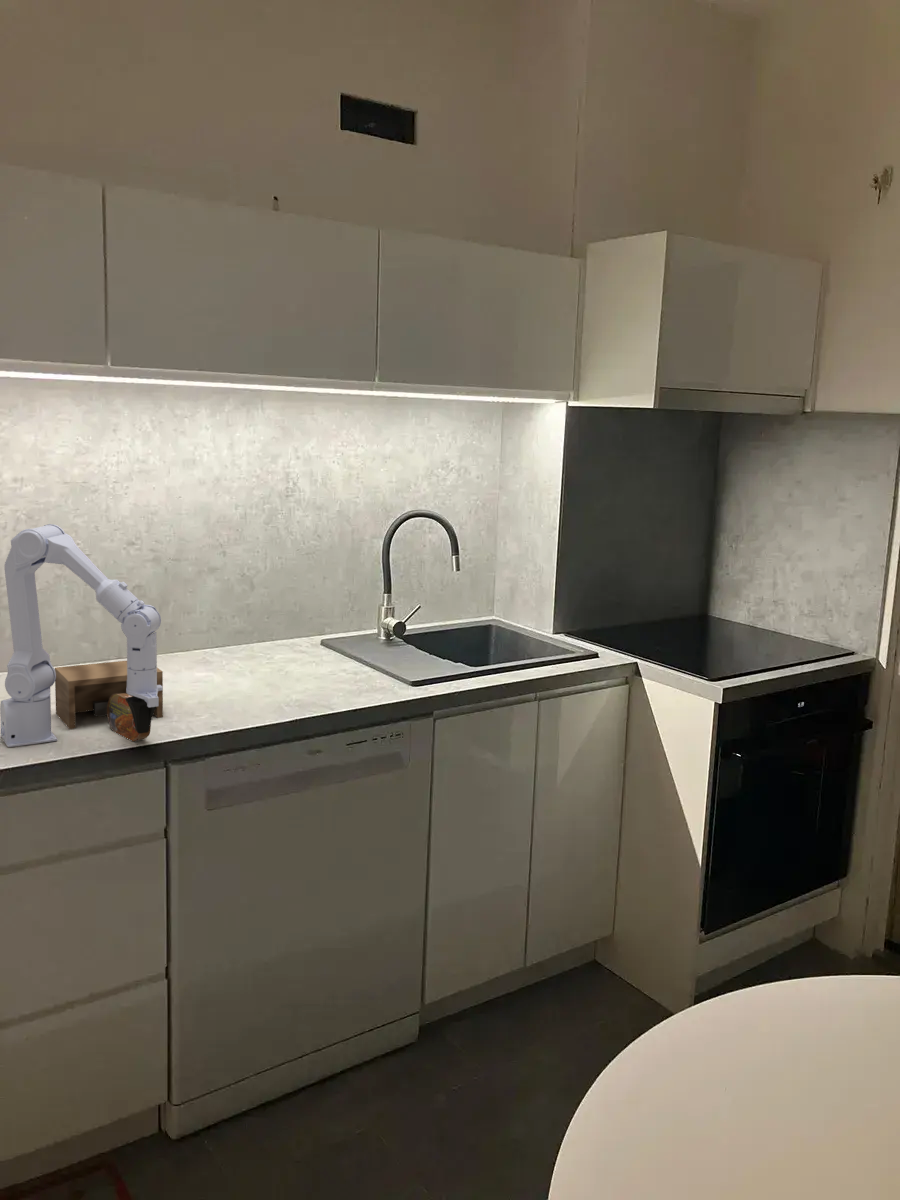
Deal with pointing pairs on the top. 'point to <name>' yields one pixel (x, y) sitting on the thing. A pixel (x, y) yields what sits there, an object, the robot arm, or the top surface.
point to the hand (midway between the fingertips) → (142, 731)
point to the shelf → (93, 689)
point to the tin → (123, 718)
